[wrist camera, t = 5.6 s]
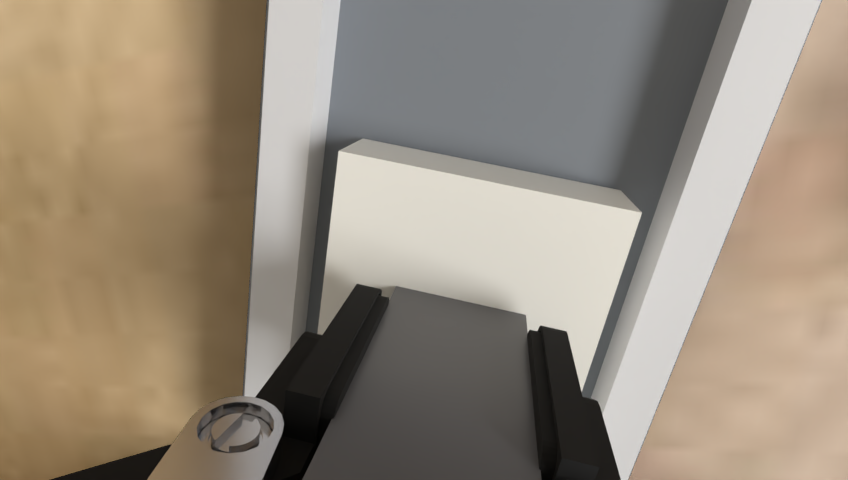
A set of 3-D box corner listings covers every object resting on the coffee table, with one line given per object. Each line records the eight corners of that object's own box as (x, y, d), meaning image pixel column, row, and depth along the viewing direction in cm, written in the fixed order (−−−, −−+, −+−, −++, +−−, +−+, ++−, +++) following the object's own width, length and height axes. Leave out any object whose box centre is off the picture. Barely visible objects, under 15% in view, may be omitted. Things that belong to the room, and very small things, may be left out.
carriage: (362, 138, 13) (88, 280, 4) (620, 189, 12) (882, 466, 4) (328, 400, 15) (119, 801, 7) (537, 451, 15) (583, 951, 7)
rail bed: (323, -415, 11) (268, -561, 8) (919, -346, 10) (1065, -489, 7) (259, 421, 18) (220, 478, 16) (594, 505, 17) (610, 580, 15)
